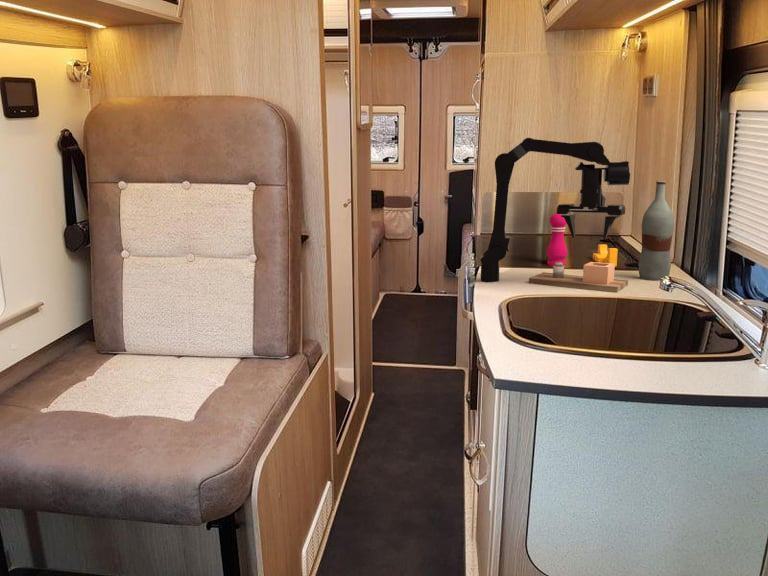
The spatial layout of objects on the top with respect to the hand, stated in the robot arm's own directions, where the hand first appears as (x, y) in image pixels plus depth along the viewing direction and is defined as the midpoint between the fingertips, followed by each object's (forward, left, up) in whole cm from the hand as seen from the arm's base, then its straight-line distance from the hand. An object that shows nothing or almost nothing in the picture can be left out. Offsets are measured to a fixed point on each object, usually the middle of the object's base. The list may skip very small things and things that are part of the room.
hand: (589, 238), depth 186 cm
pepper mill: (+27, +19, -14) cm, 35 cm away
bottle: (+19, -15, -14) cm, 28 cm away
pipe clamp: (+38, +5, -14) cm, 41 cm away
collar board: (-3, +2, -14) cm, 14 cm away
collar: (-3, -4, -12) cm, 13 cm away
